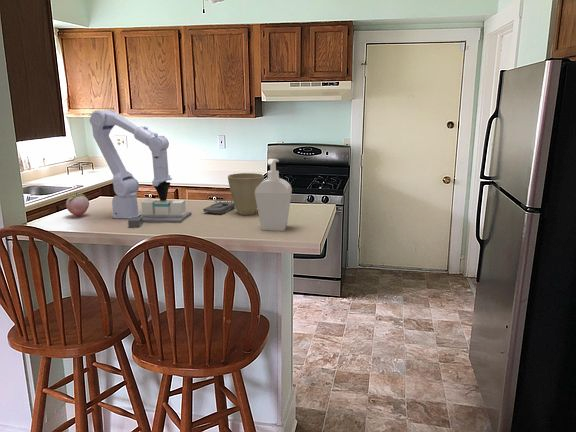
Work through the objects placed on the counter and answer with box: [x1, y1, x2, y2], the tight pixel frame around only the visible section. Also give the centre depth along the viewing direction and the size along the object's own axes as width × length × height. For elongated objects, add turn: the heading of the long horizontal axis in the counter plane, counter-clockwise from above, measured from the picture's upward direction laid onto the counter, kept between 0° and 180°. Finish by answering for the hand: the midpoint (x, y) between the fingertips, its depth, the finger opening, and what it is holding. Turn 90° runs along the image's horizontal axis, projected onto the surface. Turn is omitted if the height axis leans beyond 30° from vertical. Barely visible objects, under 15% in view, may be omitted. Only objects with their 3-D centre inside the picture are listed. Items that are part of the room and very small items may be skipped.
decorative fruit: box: [65, 192, 90, 217], centre depth 199 cm, size 9×8×10 cm
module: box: [154, 199, 173, 215], centre depth 194 cm, size 6×5×5 cm
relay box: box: [127, 216, 144, 229], centre depth 184 cm, size 4×6×3 cm, turn 4°
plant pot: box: [227, 172, 264, 216], centre depth 200 cm, size 15×15×16 cm
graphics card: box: [202, 199, 236, 214], centre depth 207 cm, size 17×4×12 cm
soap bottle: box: [255, 158, 293, 232], centre depth 174 cm, size 12×10×26 cm
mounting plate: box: [140, 199, 192, 224], centre depth 194 cm, size 18×14×7 cm
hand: (163, 200), depth 193 cm, fingers closed
